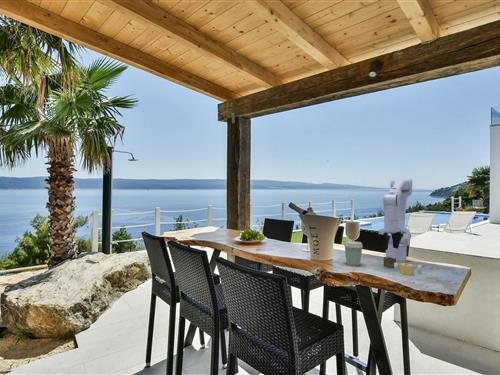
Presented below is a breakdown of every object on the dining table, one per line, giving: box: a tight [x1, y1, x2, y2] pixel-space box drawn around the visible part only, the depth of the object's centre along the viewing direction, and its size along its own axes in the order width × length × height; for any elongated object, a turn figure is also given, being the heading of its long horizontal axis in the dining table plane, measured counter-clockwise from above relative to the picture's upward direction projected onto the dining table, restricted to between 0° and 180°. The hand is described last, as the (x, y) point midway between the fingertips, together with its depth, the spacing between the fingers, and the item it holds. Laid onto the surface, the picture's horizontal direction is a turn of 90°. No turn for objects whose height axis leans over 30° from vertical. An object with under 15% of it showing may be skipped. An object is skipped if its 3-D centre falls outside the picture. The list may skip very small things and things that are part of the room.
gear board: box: [368, 262, 437, 281], centre depth 135 cm, size 22×16×5 cm
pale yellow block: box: [399, 262, 415, 276], centre depth 130 cm, size 6×5×4 cm
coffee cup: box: [343, 240, 364, 267], centre depth 146 cm, size 8×8×12 cm
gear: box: [382, 256, 397, 268], centre depth 142 cm, size 6×5×4 cm
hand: (390, 248), depth 142 cm, fingers open, 7 cm apart
